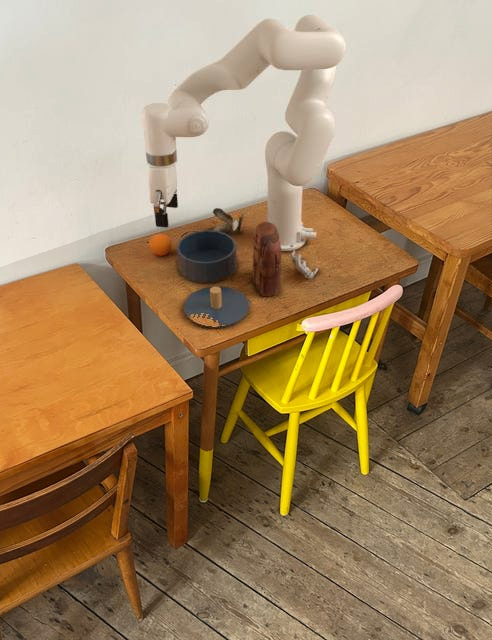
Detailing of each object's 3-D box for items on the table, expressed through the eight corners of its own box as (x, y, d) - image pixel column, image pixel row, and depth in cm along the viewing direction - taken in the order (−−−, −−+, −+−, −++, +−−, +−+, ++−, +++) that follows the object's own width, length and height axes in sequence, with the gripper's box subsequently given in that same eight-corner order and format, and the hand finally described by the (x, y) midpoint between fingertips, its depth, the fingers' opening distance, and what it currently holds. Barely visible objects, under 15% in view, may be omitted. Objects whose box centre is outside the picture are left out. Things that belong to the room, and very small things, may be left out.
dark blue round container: (240, 252, 207) (240, 232, 202) (230, 285, 195) (230, 265, 191) (186, 247, 208) (184, 228, 204) (173, 280, 197) (171, 260, 193)
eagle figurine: (242, 219, 217) (212, 213, 217) (245, 208, 210) (213, 202, 210) (238, 242, 215) (208, 236, 215) (240, 233, 209) (209, 226, 208)
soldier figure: (308, 261, 205) (329, 272, 195) (299, 275, 205) (319, 287, 195) (289, 246, 201) (309, 256, 191) (279, 261, 201) (298, 272, 191)
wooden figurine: (248, 273, 199) (247, 215, 187) (271, 270, 200) (272, 212, 188) (260, 299, 191) (260, 240, 179) (284, 295, 192) (285, 236, 180)
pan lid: (253, 292, 193) (253, 273, 189) (242, 332, 181) (242, 313, 177) (191, 287, 195) (190, 268, 191) (177, 326, 183) (175, 307, 179)
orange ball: (174, 248, 208) (172, 230, 204) (169, 260, 204) (167, 242, 200) (153, 246, 209) (151, 228, 205) (148, 258, 205) (146, 240, 200)
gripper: (156, 138, 187) (161, 198, 199) (136, 171, 175) (144, 233, 186) (184, 141, 186) (189, 201, 198) (167, 174, 174) (172, 235, 185)
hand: (167, 216), depth 192 cm, fingers open, 9 cm apart
